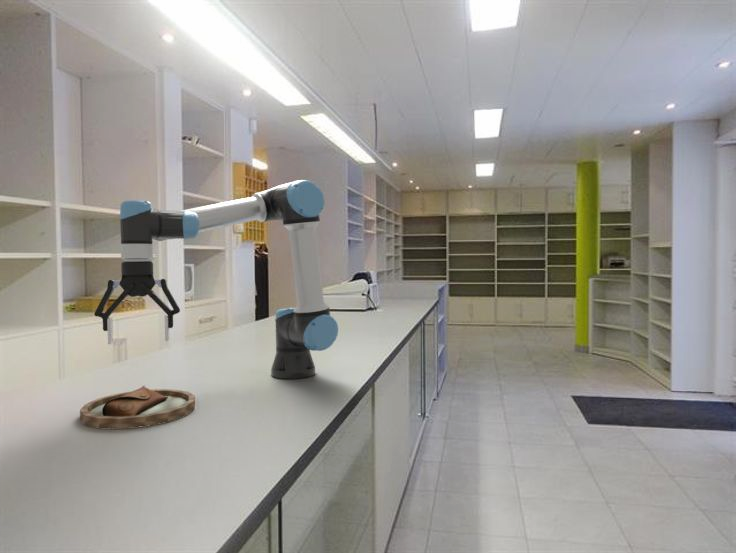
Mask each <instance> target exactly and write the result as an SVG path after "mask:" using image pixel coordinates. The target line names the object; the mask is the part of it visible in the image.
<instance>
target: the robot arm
mask: <svg viewBox="0 0 736 553" xmlns="http://www.w3.org/2000/svg"><path fill="white" fill-rule="evenodd" d="M324 206H325V197H324V193H323V191H322V189H321V187H319V186H318V185H317V184H316V183H315V182H313V181H311V180H308V179H301V180H300V179H298V180H294V181H291V182H287V183H284V184H279V185H277V186H275V187H272V188H270V189H266V190H263V191H259V192H254V193H253V194H252V195H251V196H250V197H245V198H239V199H234V200H228V201H224V202H223V201H222V202H218V203H214V204H213V203H212V204H207V205H202V206H196V207H192V208H188V209H182V210H159V209H156V208H155V209H153V205H152V203H151V202H150V201H148V200H138V199H137V200H136V199H135V200H133V199H131V200H130V199H129V200H124V201H123V202H121V203H120V207H119V223H120V224H119V225H120V226H119V228H120V258H121V260H123V261H122V262H121V264H120V265H121V266H120V267H121V271H120V272H121V278H120V280H116V279H115V280H114V279H109V280H107V287H106V290H105V293H104V294H103V296H102V298H101V299H100V302H99V304H98V305H97V308H96V309H95V311H94V316H95V317H98V318H100V319H102V330H103V332H107V345H112V344H113V343H114V330H113V327H114V323H113V321H114V320H113V317H110V316H111V315H112V313H113V312H115V310H117V308H118V307H119V306H120V305H121V303H122V302H123V301H124V300H125V299H126V298H127V297H133V298H135V297H146V296H148V297H149V298H151V299H152V300H153V302H155V303H156V304H157V305H158V307H159V308H160V309H161V310H162V311H163V312H164V313H166V315H165V316H164V342H169V341H170V329H173V327H174V315H176V314H179V313H180V312H181V308H180V307H179V304H177V301H176V300H175V298H174V296H173V295H172V293H171V291H170V289H169V288H168V284H167V279H166V278H162V279H155V278H154V263H153V261H151V260H153V259H154V252H153V240H155V241H157V242H158V241H159V242H162V241H163V242H164V241H167V240H177V239H178V240H179V239H181V240H183V239H185V240H187V239H190V240H191V239H195V238H197V236H198V235H199V233H203V232H206V231H212V230H217V229H223V228H226V227H231V226H236V225H240V224H244V223H245V224H246V223H249V222H253V221H257V222H259V223H264V222H269V221H271V222H272V221H282V225H283V227H284V228H285V229H287V231H288V235H289V244H290V251H291V252H290V253H291V254H290V255H291V261H292V269H293V277H294V278H293V279H294V284H295V285H294V286H295V287H294V288H295V296H296V306H295V307H289V308H280V309H278V310H277V311H276V312H275V318H274V321H275V355H274V359H273V362H272V366H271V369H270V371H271V372H270V375H271V377H273V378H274V379H275V378H276V379H281V380H282V379H283V380H292V379H293V380H297V379H304V378H305V379H306V378H309V377H313V376H314V375H315V374H316V366H315V363H314V360H313V356H312V354H311V351H312V352H313V351H317V352H320V351H322V352H323V351H325V350H327V349H329V348H330V347H331V346H333V344H334V342H336V340H337V337H338V335H339V326H338V322H337V320H336V319H334V317H333V316H331V311H330V305H328V304H327V303H326V302H325V300H324V292H323V291H324V289H323V283H322V282H323V281H322V273H321V264H320V254H319V246H318V245H319V244H318V237H317V236H318V235H317V227H318V226H319V224H320V223H321V221H320V220H321V219H320V214H321V213H322V210H323V209H324ZM156 285H157V286H158V288H161V289H162V291H163V294H164V295H165V298H166V299H167V301H168V302H169V304H170V306H171V308H172V309H171V308H170V307H169V306H168V305H167V304H166V303H165V301H163V300H162V299H161V297H159V296H158V294H156V292H155V291H154V290H153V288H154V287H155V286H156ZM118 286H120V288H121V289H122V290H123V291H122V292H121V294H120V295H119V296H118V297H117V298H116V299H115V301H114V302H113V303H111V305H110V306H109V307H108V308H107V309H106V311H104V310H105V308H106V306H107V304H108V302H109V300H110V298H111V296H112V295H113V293H114V290H115V289H117V288H118Z"/></svg>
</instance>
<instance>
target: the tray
mask: <svg viewBox="0 0 736 553" xmlns="http://www.w3.org/2000/svg"><path fill="white" fill-rule="evenodd" d="M151 390H152V391H154V392H157V393H159V394H161V395H164V396H166V397H168V398H167V399H166V400H164V401H162V402H161V403H159V404H157V405H155V406H153V407H151V408H149V409H147V410H145V411H143V412H141V413H139V414H138V415H136V416H125V417H114V416H104V415H103V413H102V409H103V407H104V405H105V404H106V403H107V402H108V401H110V400H112V399H115V398H118V397H121V396H123V395H125V394H127V393H129V392H130V391H127V392H121V393H115V394H110V395H107V396H104V397H99V398H97V399H94V400H91V401H90V402H87V403H85V404H84V405H83V406H82V407H81V408H80V410H79V420H80V422H81V423H82V424H83V425H84V427H90V428H94V429H95V428H96V429H98V428H100V430H101V428H106V429H105V430H108V429H107V428H110V429H109V430H122V429H121V428H128V429H131V428H130V427H138V428H140V427H139V426H147V427H149V426H148V425H152V426H155V425H154V424H157V425H160V424H159V423H162V424H164V423H163V422H167V423H169V422H168V421H170V422H172V421H171V420H173V421H175V420H174V419H176V420H178V419H177V418H179V419H181V418H180V417H182V418H184V417H186V416H188V415H190V414H191V413H193V410H194V411H195V407H196V395H195V394H193V393H192V392H189V391H185V390H179V389H169V388H168V389H166V388H165V389H164V388H162V389H161V388H156V389H155V388H154V389H153V388H152V389H151ZM190 412H191V413H190ZM187 414H188V415H187ZM183 416H184V417H183ZM112 428H113V429H112Z"/></svg>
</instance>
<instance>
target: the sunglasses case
mask: <svg viewBox="0 0 736 553" xmlns="http://www.w3.org/2000/svg"><path fill="white" fill-rule="evenodd" d="M152 390H153V389H150V388H147V387H146V386H145V385H142V386H141V387H138V389H134V390H132V391H128V392H129V393H127V394H125V395H123V396H121V397H118V398H115V399H112V400H110V401H108V402H107V403H106V404H105V405H104V407H103V409H102V413H103V415H104V416H114V417H125V416H136V415H138V414H139V413H141V412H143V411H145V410H147V409H149V408H151V407H153V406H155V405H157V404H159V403H161V402H162V401H164V400H166V399H167V398H168V397H166V396H164V395H161V394H159V393H157V392H154V391H152Z"/></svg>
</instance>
